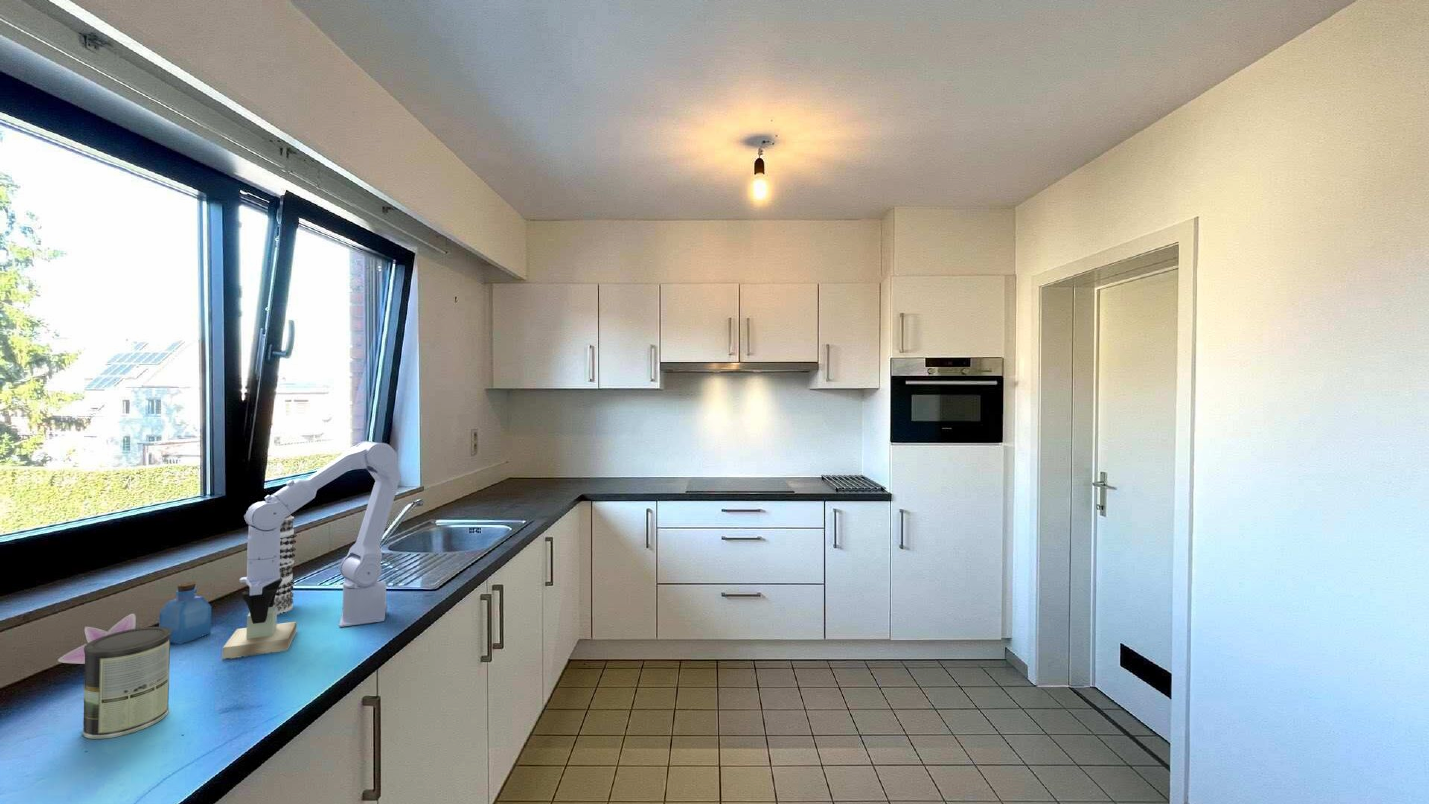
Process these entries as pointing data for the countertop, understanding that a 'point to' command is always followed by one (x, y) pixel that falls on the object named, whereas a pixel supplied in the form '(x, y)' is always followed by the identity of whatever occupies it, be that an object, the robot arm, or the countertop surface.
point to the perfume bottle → (186, 615)
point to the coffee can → (126, 682)
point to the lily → (95, 633)
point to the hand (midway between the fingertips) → (262, 618)
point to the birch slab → (260, 642)
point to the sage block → (262, 625)
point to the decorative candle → (285, 567)
